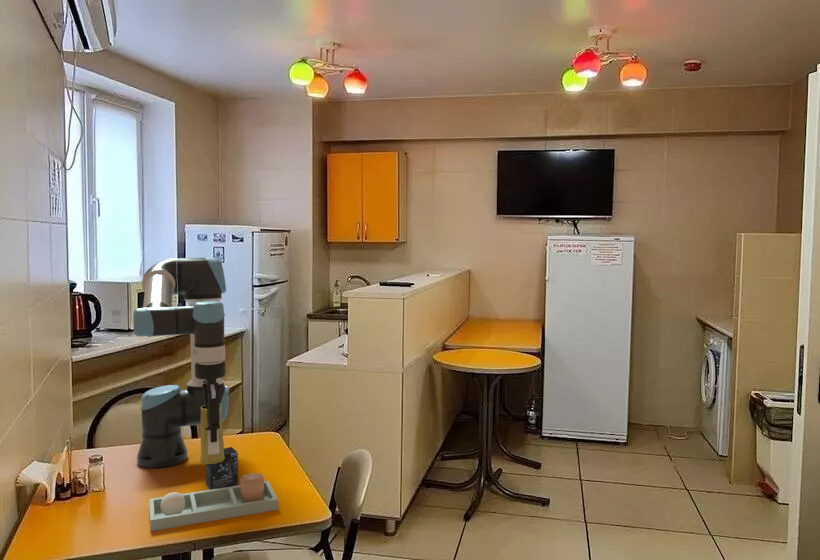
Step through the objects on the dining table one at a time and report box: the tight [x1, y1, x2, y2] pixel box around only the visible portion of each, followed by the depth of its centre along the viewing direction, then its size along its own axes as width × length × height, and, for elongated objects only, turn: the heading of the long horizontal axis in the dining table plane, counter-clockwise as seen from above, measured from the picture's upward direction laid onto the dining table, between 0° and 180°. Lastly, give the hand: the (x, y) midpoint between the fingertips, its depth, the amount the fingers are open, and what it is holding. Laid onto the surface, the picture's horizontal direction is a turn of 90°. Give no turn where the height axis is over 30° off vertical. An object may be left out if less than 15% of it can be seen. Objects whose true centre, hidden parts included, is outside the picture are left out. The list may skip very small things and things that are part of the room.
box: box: [205, 446, 239, 490], centre depth 185 cm, size 8×6×11 cm
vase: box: [199, 404, 225, 465], centre depth 167 cm, size 6×6×14 cm
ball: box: [160, 491, 185, 516], centre depth 164 cm, size 6×6×6 cm
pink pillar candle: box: [240, 472, 265, 503], centre depth 172 cm, size 6×6×7 cm
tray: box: [149, 480, 279, 532], centre depth 169 cm, size 13×31×4 cm, turn 113°
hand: (212, 449), depth 167 cm, fingers closed on vase, 6 cm apart
